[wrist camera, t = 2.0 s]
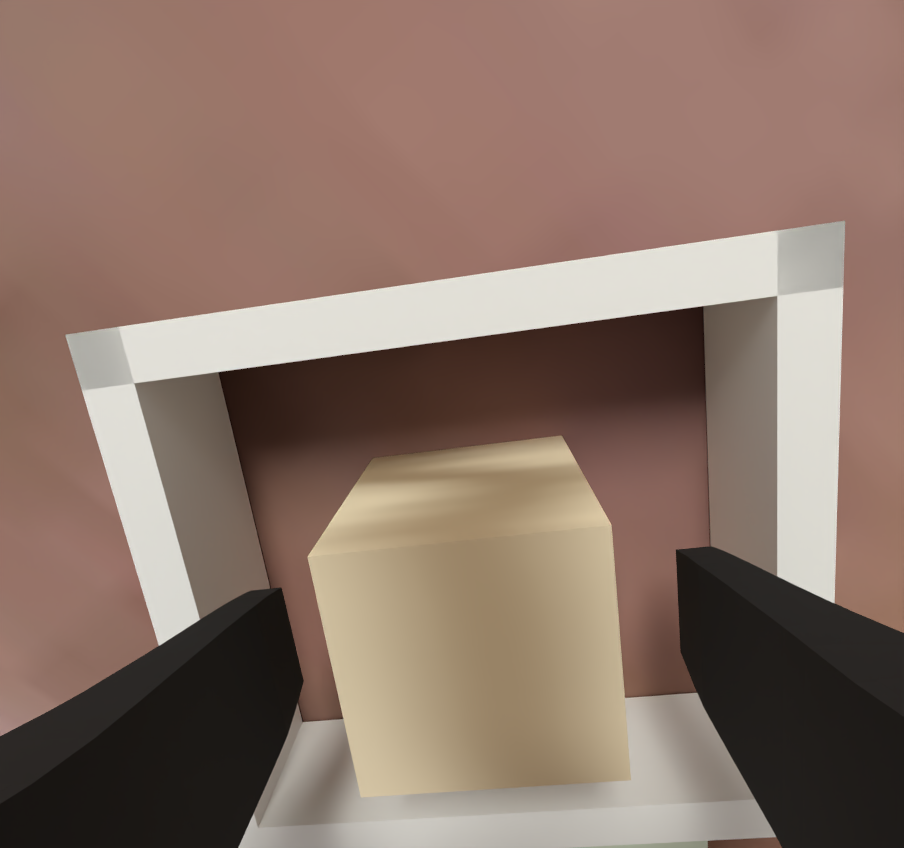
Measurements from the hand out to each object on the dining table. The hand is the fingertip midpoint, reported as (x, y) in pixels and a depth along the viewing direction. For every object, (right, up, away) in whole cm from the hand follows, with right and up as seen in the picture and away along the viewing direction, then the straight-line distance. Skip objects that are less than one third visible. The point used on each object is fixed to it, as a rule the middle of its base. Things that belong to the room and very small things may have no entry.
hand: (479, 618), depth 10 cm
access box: (0, +1, +3) cm, 4 cm away
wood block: (0, +1, +4) cm, 4 cm away
